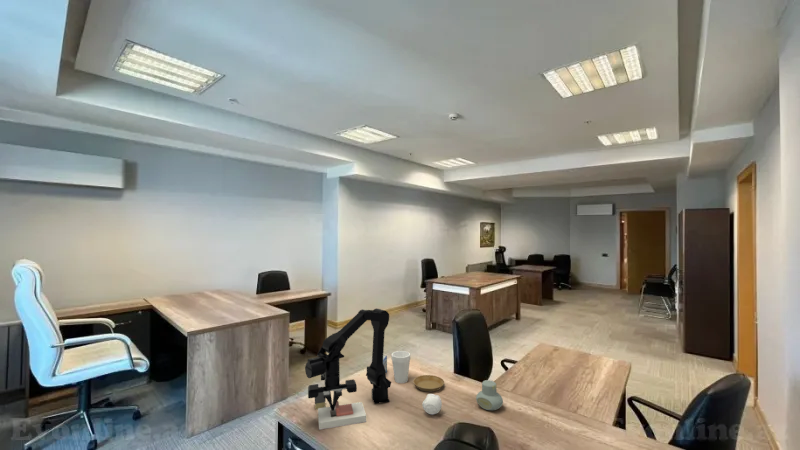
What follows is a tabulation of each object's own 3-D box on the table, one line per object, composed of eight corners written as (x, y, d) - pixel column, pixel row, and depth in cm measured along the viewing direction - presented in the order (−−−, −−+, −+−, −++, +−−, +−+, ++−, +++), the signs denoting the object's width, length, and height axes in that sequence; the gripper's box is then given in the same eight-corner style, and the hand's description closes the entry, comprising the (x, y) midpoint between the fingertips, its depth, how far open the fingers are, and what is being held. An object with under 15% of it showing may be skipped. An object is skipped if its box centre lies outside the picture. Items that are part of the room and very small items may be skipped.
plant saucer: (423, 377, 171) (423, 372, 171) (449, 385, 162) (449, 379, 163) (407, 388, 159) (407, 383, 159) (434, 397, 151) (434, 391, 151)
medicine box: (383, 377, 171) (383, 360, 171) (375, 377, 172) (374, 360, 172) (387, 371, 178) (387, 355, 179) (379, 371, 179) (379, 354, 180)
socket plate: (361, 407, 142) (361, 401, 142) (366, 421, 131) (366, 415, 131) (318, 414, 137) (318, 408, 137) (318, 429, 126) (318, 422, 126)
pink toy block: (351, 405, 138) (351, 398, 138) (353, 413, 132) (353, 406, 132) (335, 408, 137) (335, 401, 137) (336, 416, 130) (336, 409, 130)
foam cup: (396, 386, 161) (396, 359, 162) (388, 378, 169) (388, 353, 170) (414, 381, 166) (413, 355, 166) (405, 375, 174) (404, 349, 174)
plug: (325, 403, 146) (324, 386, 146) (325, 408, 142) (325, 391, 142) (314, 404, 145) (314, 388, 145) (314, 409, 141) (314, 392, 141)
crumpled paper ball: (431, 406, 142) (431, 387, 142) (445, 413, 137) (445, 393, 137) (418, 413, 137) (418, 394, 137) (433, 420, 131) (432, 401, 131)
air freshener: (506, 407, 141) (505, 383, 141) (496, 415, 135) (496, 390, 135) (482, 399, 148) (482, 376, 148) (473, 406, 142) (472, 382, 142)
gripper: (353, 360, 144) (353, 397, 143) (308, 365, 139) (308, 403, 139) (356, 370, 133) (357, 410, 133) (307, 376, 128) (308, 418, 128)
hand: (332, 410), depth 133 cm, fingers closed
